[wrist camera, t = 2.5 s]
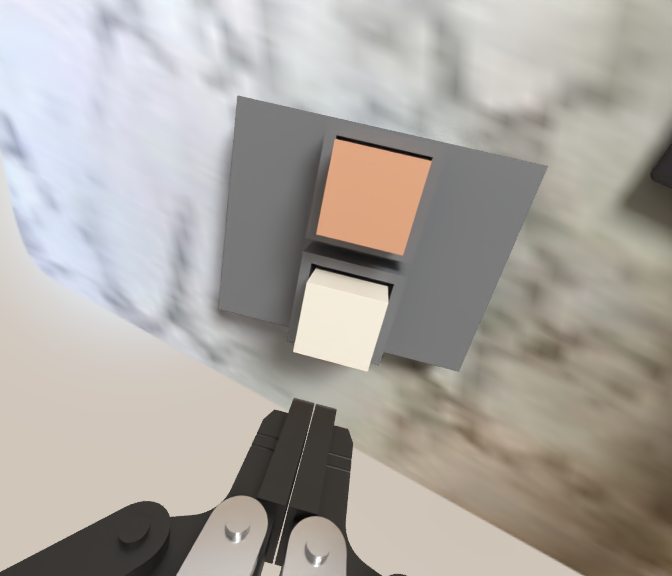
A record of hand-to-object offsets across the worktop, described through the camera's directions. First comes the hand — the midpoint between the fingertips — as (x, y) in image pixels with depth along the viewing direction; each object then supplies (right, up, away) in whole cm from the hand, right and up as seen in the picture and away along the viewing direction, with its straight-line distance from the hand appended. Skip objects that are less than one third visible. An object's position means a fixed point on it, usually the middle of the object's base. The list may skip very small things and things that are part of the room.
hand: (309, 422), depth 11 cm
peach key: (+3, +10, +6) cm, 12 cm away
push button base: (+3, +8, +13) cm, 15 cm away
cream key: (+1, +3, +9) cm, 10 cm away
